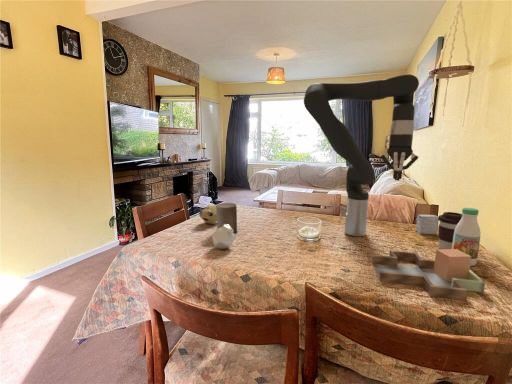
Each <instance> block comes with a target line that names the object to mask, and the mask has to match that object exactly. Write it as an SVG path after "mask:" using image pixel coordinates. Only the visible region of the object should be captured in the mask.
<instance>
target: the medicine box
mask: <svg viewBox="0 0 512 384" xmlns="http://www.w3.org/2000/svg"><path fill="white" fill-rule="evenodd" d="M416 216H417V217H416V226H415V232H416V231H417V232H416V233H418V234H419V235H438V231H439V223H440V221H439V220H438V217H439V216H437V215H435V214H417V215H416Z"/></svg>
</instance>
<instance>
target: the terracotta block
mask: <svg viewBox="0 0 512 384" xmlns="http://www.w3.org/2000/svg"><path fill="white" fill-rule="evenodd" d="M471 257H472V256H470V255H468V254H466V253H464V252H462V251H460V250H458V249H440V248H439V249H436V250H435V257H434V260H435V264H434V273H435V274H437V275H438V276H440V277H441V278H443V279H444V280H446V281H452V278H456V279H466V280H468V277H469V270H471V269H470V268H471V266H470V263H471Z"/></svg>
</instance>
